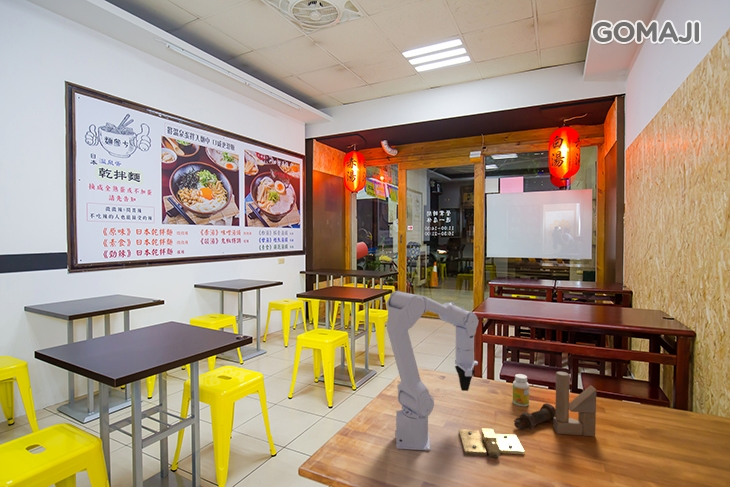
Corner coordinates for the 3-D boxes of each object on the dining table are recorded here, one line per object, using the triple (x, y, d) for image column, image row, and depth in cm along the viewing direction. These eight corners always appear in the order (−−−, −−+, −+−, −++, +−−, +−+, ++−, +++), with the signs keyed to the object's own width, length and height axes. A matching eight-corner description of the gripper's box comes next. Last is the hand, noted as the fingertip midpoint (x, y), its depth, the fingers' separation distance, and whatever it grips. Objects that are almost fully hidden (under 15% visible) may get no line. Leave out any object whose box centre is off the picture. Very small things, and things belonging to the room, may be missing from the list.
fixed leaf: (465, 456, 99) (465, 444, 99) (458, 432, 111) (458, 422, 111) (500, 458, 98) (500, 446, 98) (490, 434, 110) (490, 423, 110)
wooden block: (595, 437, 108) (596, 377, 107) (557, 434, 110) (558, 375, 109) (590, 430, 112) (591, 372, 111) (552, 427, 113) (553, 370, 113)
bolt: (515, 435, 113) (548, 422, 119) (526, 434, 109) (561, 421, 115) (507, 415, 115) (541, 403, 121) (518, 413, 111) (552, 402, 117)
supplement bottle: (509, 401, 131) (509, 374, 131) (520, 398, 133) (520, 372, 133) (521, 407, 126) (521, 380, 126) (532, 404, 128) (532, 377, 128)
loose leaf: (486, 452, 101) (486, 441, 101) (480, 436, 109) (480, 425, 109) (524, 454, 100) (524, 443, 100) (515, 437, 108) (515, 427, 108)
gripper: (482, 356, 109) (482, 400, 109) (473, 341, 123) (473, 381, 123) (458, 355, 109) (458, 399, 110) (452, 340, 124) (451, 380, 124)
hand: (464, 389), depth 117 cm, fingers closed
